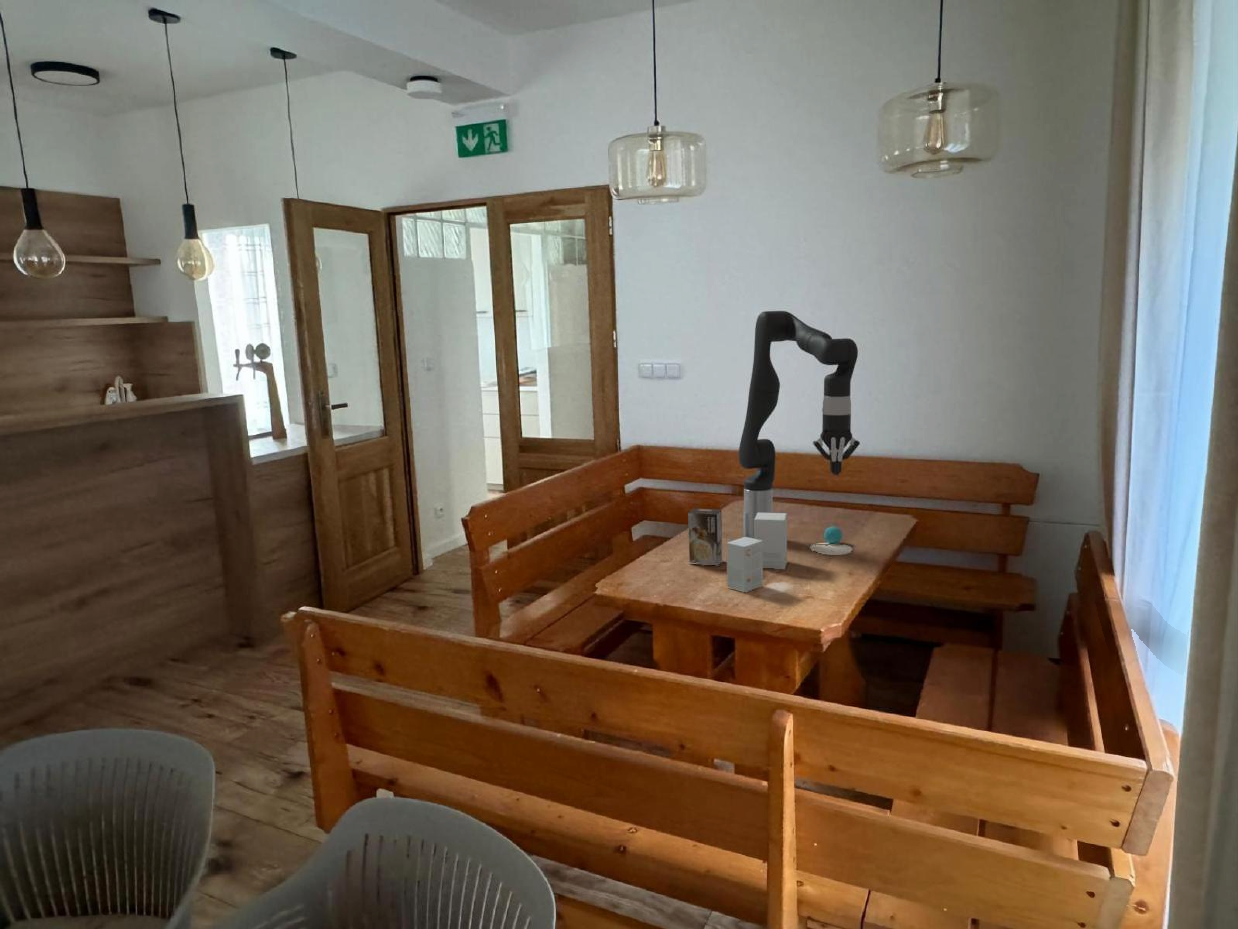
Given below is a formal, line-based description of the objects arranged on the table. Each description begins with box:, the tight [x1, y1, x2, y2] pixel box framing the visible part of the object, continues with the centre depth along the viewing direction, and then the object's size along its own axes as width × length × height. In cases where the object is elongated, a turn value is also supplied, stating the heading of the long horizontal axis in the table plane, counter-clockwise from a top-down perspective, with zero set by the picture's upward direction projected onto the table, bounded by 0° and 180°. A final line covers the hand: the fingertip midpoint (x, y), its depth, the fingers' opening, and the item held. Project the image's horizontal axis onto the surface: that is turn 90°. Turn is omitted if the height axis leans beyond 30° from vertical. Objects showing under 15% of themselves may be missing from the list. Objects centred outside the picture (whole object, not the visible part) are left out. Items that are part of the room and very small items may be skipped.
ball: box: [823, 525, 843, 544], centre depth 261 cm, size 6×6×6 cm
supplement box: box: [754, 512, 788, 570], centre depth 240 cm, size 9×9×15 cm
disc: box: [809, 542, 853, 556], centre depth 256 cm, size 13×13×1 cm
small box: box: [726, 536, 764, 593], centre depth 221 cm, size 8×6×13 cm
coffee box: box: [687, 507, 723, 566], centre depth 244 cm, size 9×6×16 cm
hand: (835, 474), depth 226 cm, fingers closed
